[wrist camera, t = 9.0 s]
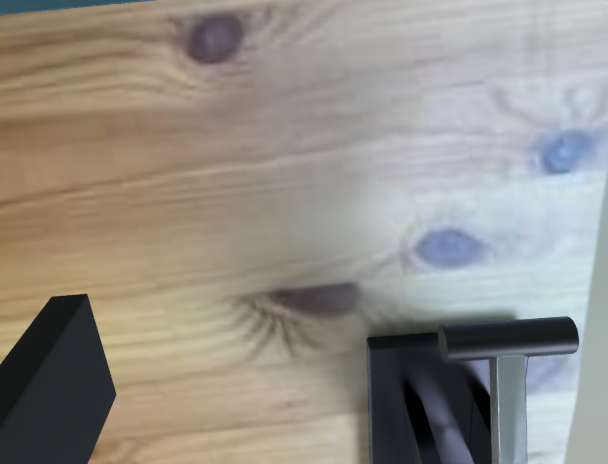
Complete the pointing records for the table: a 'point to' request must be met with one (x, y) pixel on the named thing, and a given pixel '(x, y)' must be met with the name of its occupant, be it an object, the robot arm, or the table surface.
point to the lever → (508, 369)
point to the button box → (52, 4)
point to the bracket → (426, 404)
